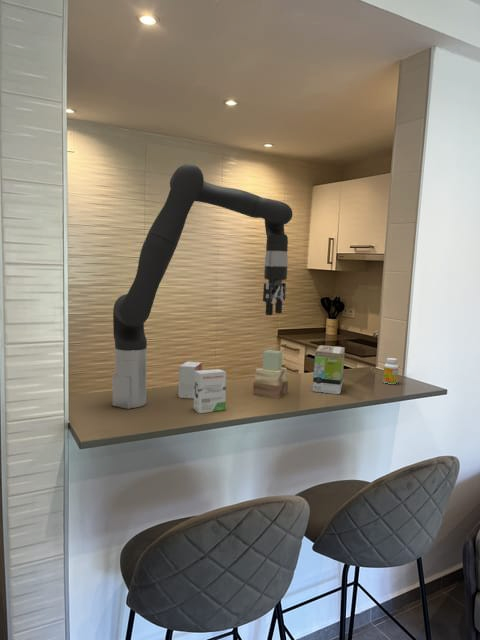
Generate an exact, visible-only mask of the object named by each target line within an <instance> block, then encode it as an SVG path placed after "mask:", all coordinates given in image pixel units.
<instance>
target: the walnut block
mask: <svg viewBox="0 0 480 640" xmlns="http://www.w3.org/2000/svg"><path fill="white" fill-rule="evenodd" d="M288 384H289V380H286V381H285V382H283V383H281V384H279V385H278V386H275V385H269V384H262V383H256V382H255V381H254V382H253V384H252V386H253V387H252V395H253V396H256V395H257V396H256V397H262V396H263V398H270V399H275V400H278V399H280V398H283V396H285V395H286V394H288V387H289V385H288Z"/></svg>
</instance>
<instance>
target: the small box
mask: <svg viewBox="0 0 480 640" xmlns="http://www.w3.org/2000/svg"><path fill="white" fill-rule="evenodd" d="M200 370H203V363H202V362H199V361H185V362H183V363H182V364H180V365H178V398H179V399H180V398H181V399H182V398H183V399H192V400H194V371H200Z"/></svg>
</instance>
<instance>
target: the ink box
mask: <svg viewBox="0 0 480 640" xmlns="http://www.w3.org/2000/svg"><path fill="white" fill-rule="evenodd" d="M226 393H227V371H225V370H222V369H220V368H219V369H202V370H200V371H194V399H193V410H195V411H196V412H197V413H198V414H204V413H205V414H206V413H211V412H212V413H213V412H219V411H220V412H221V411H226V407H227V404H226V403H227V400H226V399H227V394H226Z"/></svg>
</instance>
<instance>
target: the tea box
mask: <svg viewBox="0 0 480 640" xmlns="http://www.w3.org/2000/svg"><path fill="white" fill-rule="evenodd" d="M345 352H346V347H342V346H332V345H322V344H321V345H318V346H317V348H316V350H315V352H314V365H313V378H312V389H311V390H312V392H316V393H322V392H323V393H325V394H333V395H340V394H341V390H342V387H343V379H344V365H345Z"/></svg>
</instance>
